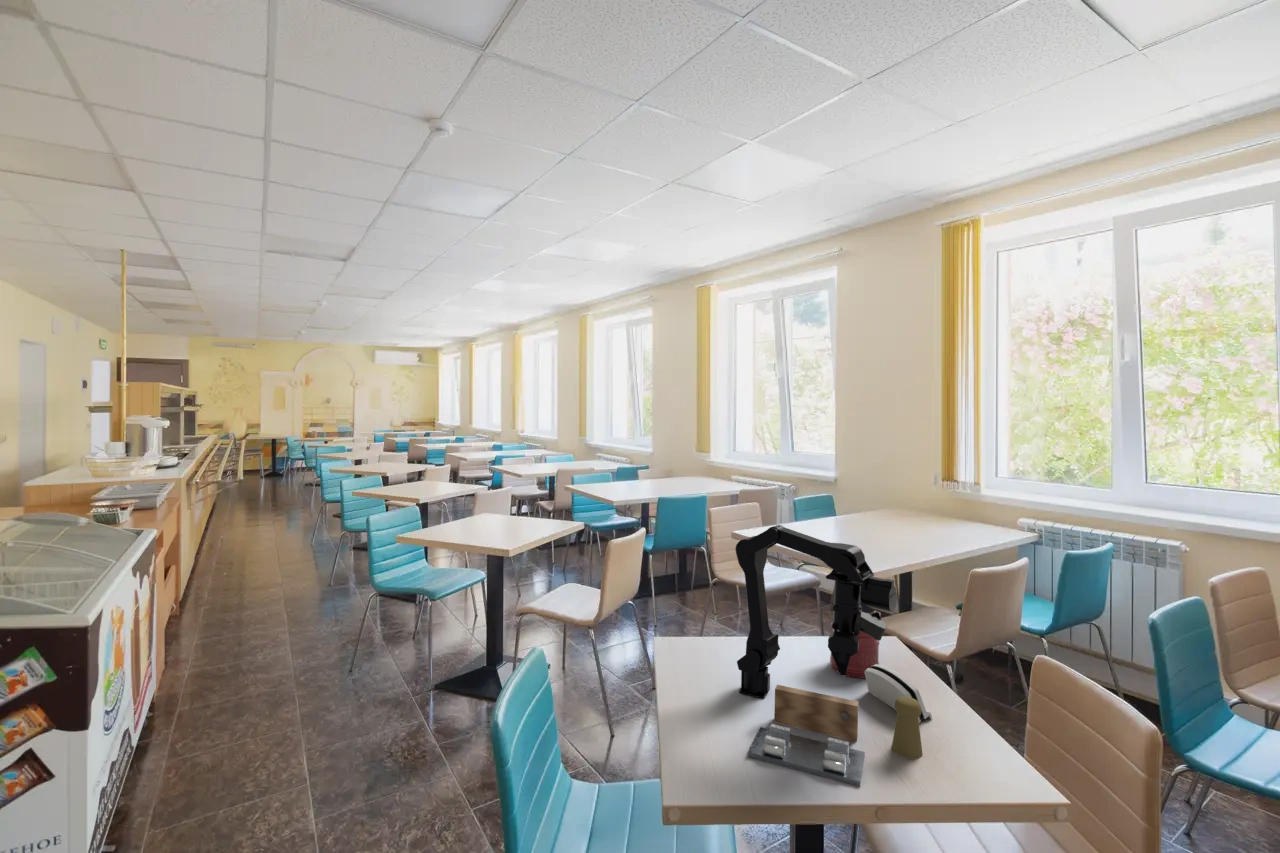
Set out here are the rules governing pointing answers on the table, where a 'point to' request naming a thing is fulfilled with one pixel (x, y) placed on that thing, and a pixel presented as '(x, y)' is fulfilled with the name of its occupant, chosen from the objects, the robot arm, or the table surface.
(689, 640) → the table surface
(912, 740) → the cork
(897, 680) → the white curved block
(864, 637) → the canister
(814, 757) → the plate
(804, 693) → the cabinet door
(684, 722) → the table surface
